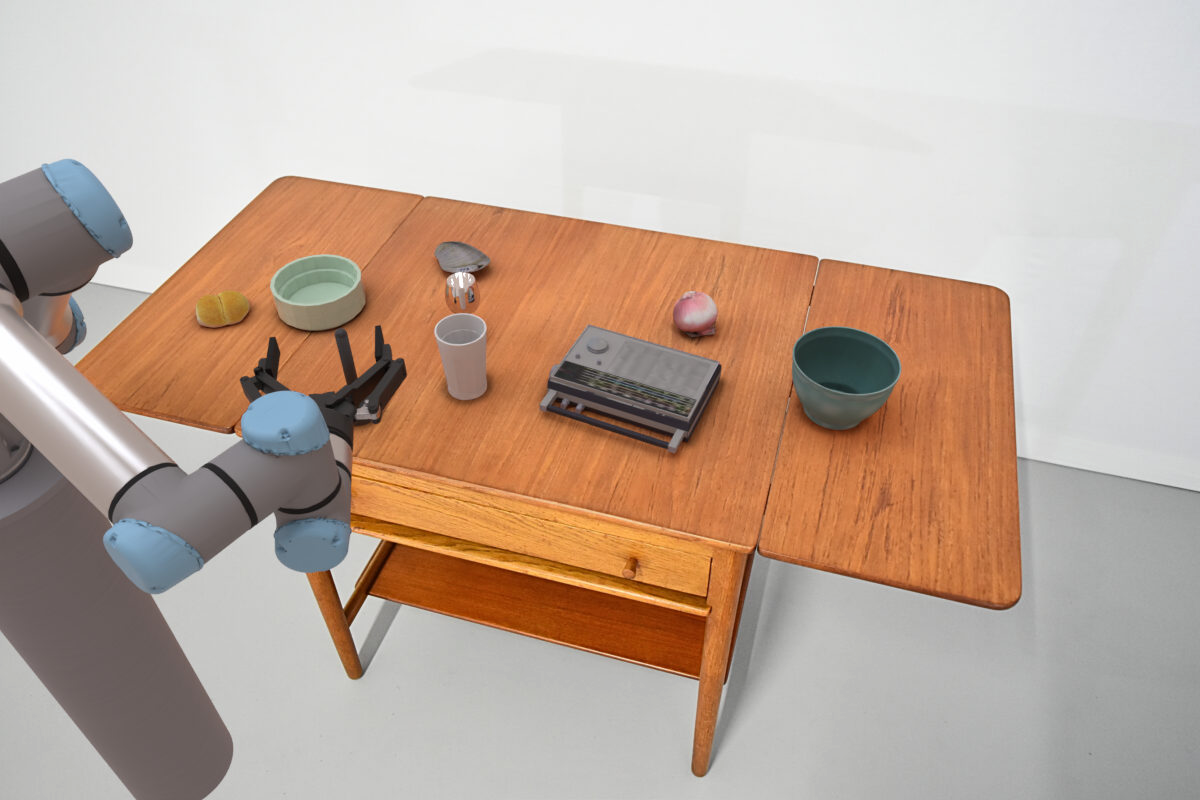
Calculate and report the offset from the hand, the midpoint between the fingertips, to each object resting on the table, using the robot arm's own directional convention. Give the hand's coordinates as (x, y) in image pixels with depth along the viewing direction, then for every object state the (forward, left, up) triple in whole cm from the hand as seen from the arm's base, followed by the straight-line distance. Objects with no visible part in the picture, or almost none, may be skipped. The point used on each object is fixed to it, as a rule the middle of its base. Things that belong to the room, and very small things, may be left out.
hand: (327, 338), depth 119 cm
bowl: (+16, +35, -22) cm, 45 cm away
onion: (+59, -16, -23) cm, 66 cm away
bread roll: (+2, +45, -23) cm, 51 cm away
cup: (+21, 0, -23) cm, 31 cm away
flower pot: (+59, -45, -23) cm, 78 cm away
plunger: (+5, +7, -22) cm, 24 cm away
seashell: (+41, +27, -23) cm, 55 cm away
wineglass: (+29, +10, -23) cm, 38 cm away
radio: (+38, -20, -23) cm, 49 cm away
